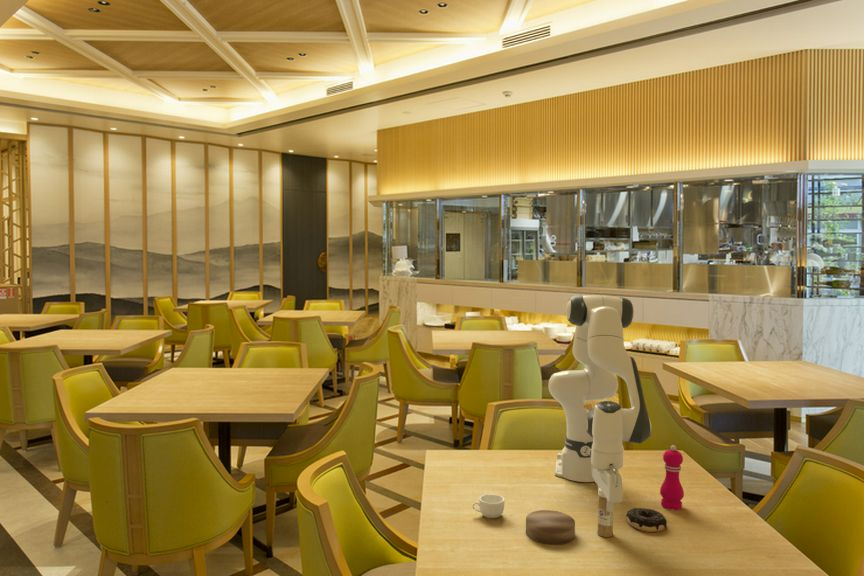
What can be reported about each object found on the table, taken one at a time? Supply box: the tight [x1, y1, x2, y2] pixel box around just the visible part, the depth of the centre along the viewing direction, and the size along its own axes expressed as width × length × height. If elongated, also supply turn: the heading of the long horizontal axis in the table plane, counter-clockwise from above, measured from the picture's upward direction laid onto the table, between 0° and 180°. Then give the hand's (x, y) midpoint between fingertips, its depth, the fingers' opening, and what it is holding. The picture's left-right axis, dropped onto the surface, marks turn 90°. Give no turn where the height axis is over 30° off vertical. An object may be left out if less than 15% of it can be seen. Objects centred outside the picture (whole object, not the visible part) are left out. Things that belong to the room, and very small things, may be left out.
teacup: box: [472, 493, 506, 520], centre depth 196 cm, size 10×8×5 cm
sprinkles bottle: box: [596, 488, 614, 538], centre depth 183 cm, size 5×5×13 cm
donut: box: [625, 507, 668, 533], centre depth 190 cm, size 11×12×4 cm
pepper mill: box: [659, 444, 685, 511], centre depth 204 cm, size 7×7×20 cm
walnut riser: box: [525, 509, 576, 546], centre depth 184 cm, size 14×14×4 cm
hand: (605, 505), depth 183 cm, fingers open, 6 cm apart
